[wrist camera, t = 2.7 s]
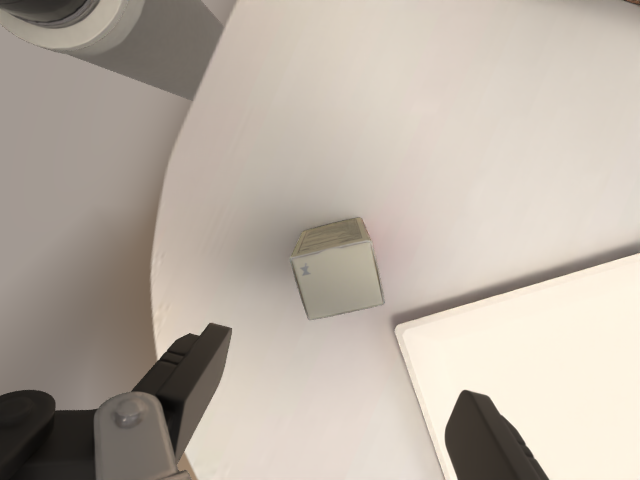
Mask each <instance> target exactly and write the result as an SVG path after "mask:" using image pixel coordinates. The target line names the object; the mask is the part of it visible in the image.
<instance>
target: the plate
mask: <svg viewBox="0 0 640 480" xmlns="http://www.w3.org/2000/svg"><path fill="white" fill-rule="evenodd" d="M394 331H395V334H396V337H397V340H398V343H399V346H400V349H401V352H402V354H403V357H404V360H405V363H406V366H407V369H408V372H409V375H410V378H411V381H412V384H413V386H414V389H415V392H416V395H417V398H418V401H419V404H420V407H421V410H422V413H423V416H424V419H425V421H426V424H427V427H428V430H429V433H430V436H431V439H432V442H433V445H434V448H435V451H436V454H437V456H438V459H439V462H440V465H441V468H442V471H443V474H444V477H445V480H458V479H457V476H456V473H455V471H454V468H453V465H452V463H451V460H450V457H449V454H448V452H447V449H446V446H445V438H444V436H445V428H446V425H447V423H448V420H449V418H450V416H451V413H452V411H453V409H454V406H455V404H456V401H457V399H458V397H459V395H460V393H461V392H462V391H463V390H469V391H473V392H476V393H480V394H484V395H487V396H489V397H490V399H491V400H492V402H493V403H494V405H495V406H496V408H497V410H498V411H499V413H500V414H501V415H503V416H504V417H505V418H506V419H507V420H508V421H509V422H510V423H511V424H512V425H513V426H514V427H515V428H516V429H517V431H518V432H519V434H520V435H521V437H522V438H523V440H524V441H525V443H526V446H527V447H528V448H529V449H530V451H531V452H532V454H533V455H534V459H536V460H537V461H538V463H539V464H540V466H541V468H542V469H543V471H544V472H545V474H546V475H547V477H548V478H549V480H640V253H638V254H635V255H631V256H628V257H624V258H621V259H618V260H614V261H611V262H608V263H604V264H601V265H597V266H594V267H591V268H587V269H584V270H581V271H577V272H574V273H570V274H567V275H564V276H560V277H557V278H554V279H550V280H547V281H543V282H540V283H537V284H533V285H530V286H527V287H523V288H520V289H517V290H513V291H510V292H506V293H503V294H500V295H496V296H493V297H490V298H486V299H483V300H479V301H476V302H473V303H469V304H466V305H463V306H459V307H456V308H452V309H449V310H446V311H442V312H439V313H436V314H432V315H429V316H425V317H422V318H419V319H415V320H412V321H409V322H405V323H402V324H399V325H397V326H396V328H395V330H394Z"/></svg>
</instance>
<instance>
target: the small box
mask: <svg viewBox="0 0 640 480" xmlns="http://www.w3.org/2000/svg"><path fill="white" fill-rule="evenodd" d="M290 263H291V266H292V270H293V274H294V277H295V281H296V284H297V288H298V291H299V294H300V297H301V300H302V303H303V306H304V309H305V312H306V315H307V318H308V320H315V319H320V318H326V317H331V316H336V315H341V314H345V313H350V312H354V311H359V310H363V309H368V308H372V307H376V306H380V305H383V304H384V303H385V300H384V295H383V289H382V284H381V279H380V274H379V269H378V264H377V260H376V255H375V251H374V247H373V243H372V241H371V239H370V237H369V234H368V232H367V230H366V227H365V225H364V223H363V220H362V218H360V217H358V218H354V219H349V220H345V221H341V222H336V223H332V224H328V225H324V226H320V227H317V228H313V229H309V230H305V231H303V232H302V233H301V236H300V238H299V240H298V242H297V244H296V246H295V249H294V251H293V253H292V255H291V257H290Z"/></svg>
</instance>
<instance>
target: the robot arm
mask: <svg viewBox="0 0 640 480" xmlns="http://www.w3.org/2000/svg"><path fill="white" fill-rule="evenodd" d="M99 1H100V0H0V9H1V10H3V11H6V12H8V13H9V14H11V15H12V16H14V17H16V18H18V19H20V20H23V21H25V22H27V23H30V24H32V25H35V26H38V27H43V28H49V29H59V28H65V27H69V26H72V25H74V24H77V23H78V22H80V21H82V20H83V19H85V18H86V17H87V16H88V15H89V14H90V13H91V12H92V11H93V10H94V9H95V8H96V6H97V5H98V3H99ZM231 335H232V328H229V327H226V326H222V325H218V324H214V323H209V324H208V326H207V327H206V328H205V330H204V331H203V332H202V334H201V335H200V336H198V335H194V334H191V333H189V334H187V335H185V336H183V337H181V338H179V339H177V340H176V341H175V342H174V343H173V344H172V345H171V346H170V347H169V349H168V350H167V352H165V353H164V354H163V355H162V357H161V358H160V360H158V361H157V362H156V363H155V365H154V366H153V367H152V368H151V369H150V370H149V371H148V373H147V374H146V375H145V376H144V377H143V378H142V379H141V381H140V382H139V383H138V384H137V385H136V386H135V387H134V388H133V390H132V391H131V392H126V393H122V394H119V395H116V396H114V397H112V398H110V399H108V400H106V401H105V402H104V403H103V404H101V406H100V407H99V408H98V409H93V410H63V411H62V410H60V411H55V400H54V398H53V397H52V396H51V395H49V394H47V393H45V392H42V391H36V390H22V391H15V392H11V393H7V394H4V395H1V396H0V480H192V479H191V477H190V474H189V473H188V471H187V470H184V471H181V472H179V470H178V467H177V464H178V462H179V460H180V458H181V456H182V454H183V453H184V451H185V449H186V447H187V445H188V443H189V441H190V439H191V437H192V435H193V433H194V431H195V430H196V428H197V426H198V424H199V422H200V420H201V418H202V416H203V414H204V412H205V410H206V408H207V406H208V405H209V403H210V401H211V399H212V397H213V395H214V393H215V391H216V389H217V387H218V385H219V383H220V380H221V377H222V374H223V371H224V367H225V363H226V358H227V353H228V349H229V344H230V339H231ZM444 438H445V446H446V449H447V452H448V454H449V457H450V460H451V463H452V465H453V468H454V471H455V473H456V476H457V479H458V480H549V478H548V477H547V475H546V474H545V472H544V471H543V469H542V468H541V466H540V464H539V463H538V461H537V460H536V459H534V455H533V454H532V452H531V451H530V449H529V448H528V447H527V446H526V443H525V441H524V440H523V438H522V437H521V435H520V434H519V432H518V431H517V429H516V428H515V427H514V426H513V425H512V424H511V423H510V422H509V421H508V420H507V419H506V418H505V417H504V416H503V415H501V414H500V413H499V411H498V410H497V408H496V406H495V405H494V403H493V402H492V400H491V399H490V397H489V396H487V395H484V394H480V393H476V392H473V391H469V390H463V391H462V392H461V393H460V395H459V397H458V399H457V401H456V404H455V406H454V409H453V411H452V413H451V416H450V418H449V420H448V423H447V425H446V428H445V436H444Z"/></svg>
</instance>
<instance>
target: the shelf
mask: <svg viewBox="0 0 640 480" xmlns="http://www.w3.org/2000/svg"><path fill="white" fill-rule="evenodd" d="M625 1H628V2H632V3H635V4H639V5H640V0H625Z"/></svg>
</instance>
